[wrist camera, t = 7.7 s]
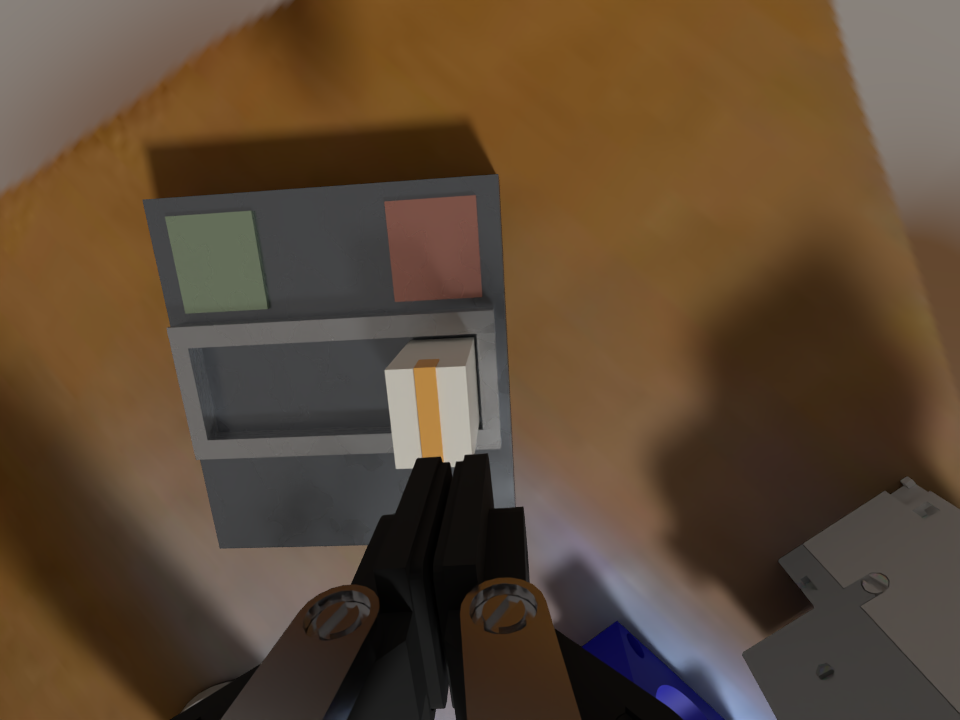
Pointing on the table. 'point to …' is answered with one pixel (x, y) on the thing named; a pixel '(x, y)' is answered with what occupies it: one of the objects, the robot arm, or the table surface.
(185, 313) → the panel
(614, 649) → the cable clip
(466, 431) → the taped parcel
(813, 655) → the circuit breaker
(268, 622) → the table surface
